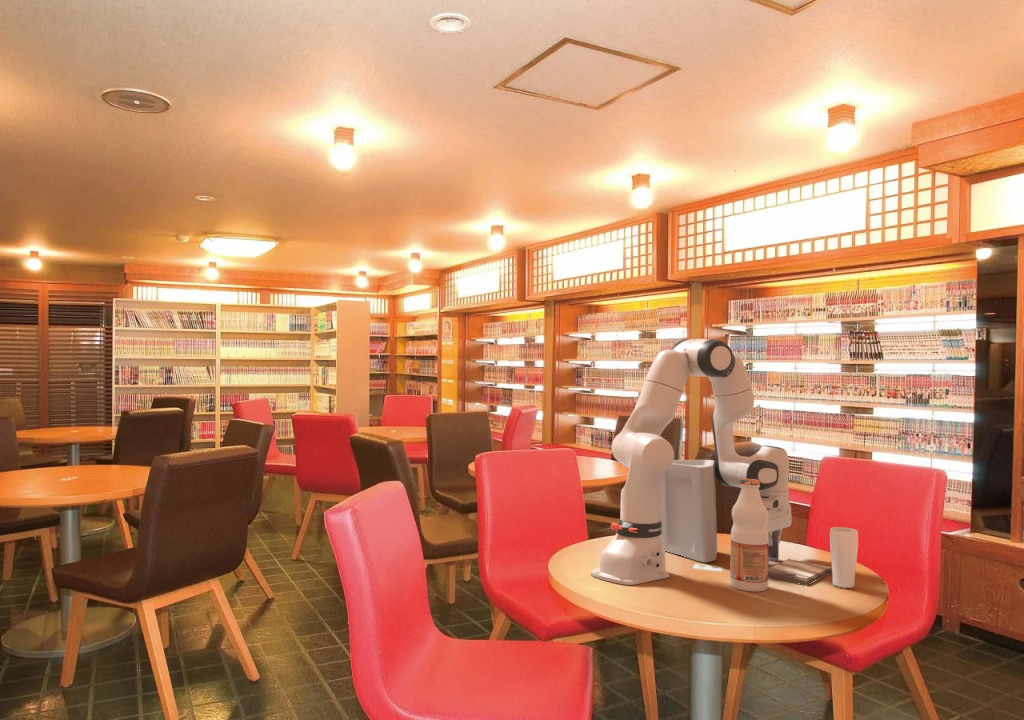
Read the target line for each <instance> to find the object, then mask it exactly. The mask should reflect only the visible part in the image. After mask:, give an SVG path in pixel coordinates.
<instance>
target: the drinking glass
mask: <svg viewBox="0 0 1024 720" xmlns="http://www.w3.org/2000/svg"><path fill="white" fill-rule="evenodd" d="M829 530H830V531H829V546H830V547H829V550H830V561H831V568H832V573H831V575H832V576H831V577H832V585H833V586H834V585H835V586H834V587H836V586H838V588H840V587H842V588H841V589H846V588H850V589H853V588H855V585H856V584H855V583H856V582H855V580H856V578H855V577H856V570H857V569H856V568H857V561H858V560H857V559H858V549H859V532H858V530H857V529H856V528H855V529H854V528H849V527H842V526H840V527H839V526H834V527H830V529H829Z"/></svg>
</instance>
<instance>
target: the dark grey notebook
mask: <svg viewBox="0 0 1024 720" xmlns="http://www.w3.org/2000/svg"><path fill="white" fill-rule="evenodd" d="M830 573H831V574H832V566H825V565H822V564H821V565H820V564H815V563H812V562H811V563H810V562H806V561H802V560H801V561H800V560H796V559H791V558H788V559H786V560H783V561H781V562H778V563H775V564H773V565H771V566H768V579H769V578H770V579H774V580H779V581H784V582H787V581H788V583H792V582H795V583H794V584H796V583H800V584H799V585H801V584H804V585H803V586H805V585H807V584H809V583H811V582H813V581H815V580H817V579H819V578H821V577H823V578H825V577H826V576H825V575H827V574H829V575H831V574H830ZM824 576H825V577H824ZM827 576H828V575H827ZM821 579H822V578H821ZM819 580H820V579H819ZM817 581H818V580H817ZM815 582H816V581H815ZM813 583H814V582H813ZM811 584H812V583H811ZM809 585H810V584H809ZM807 586H808V585H807Z"/></svg>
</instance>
